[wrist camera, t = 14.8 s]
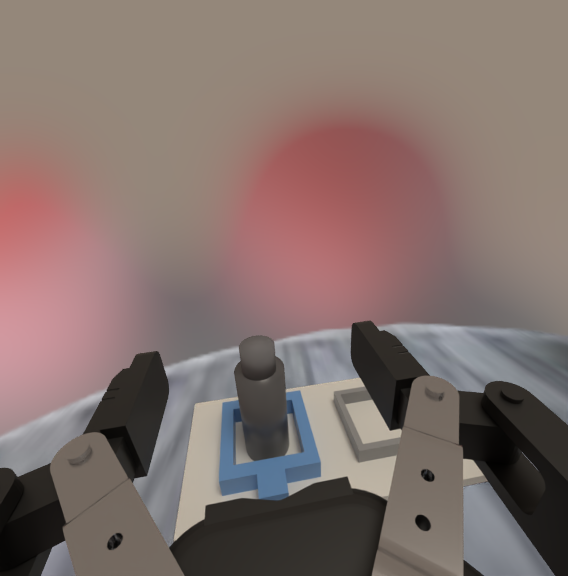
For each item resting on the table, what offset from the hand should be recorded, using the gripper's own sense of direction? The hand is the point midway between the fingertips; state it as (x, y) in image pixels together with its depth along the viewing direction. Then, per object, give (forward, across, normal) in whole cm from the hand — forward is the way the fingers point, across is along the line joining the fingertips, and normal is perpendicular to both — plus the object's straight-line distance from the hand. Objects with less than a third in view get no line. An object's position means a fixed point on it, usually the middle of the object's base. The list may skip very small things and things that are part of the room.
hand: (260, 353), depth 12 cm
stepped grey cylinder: (+10, 0, +19) cm, 22 cm away
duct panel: (+10, -6, +20) cm, 24 cm away
